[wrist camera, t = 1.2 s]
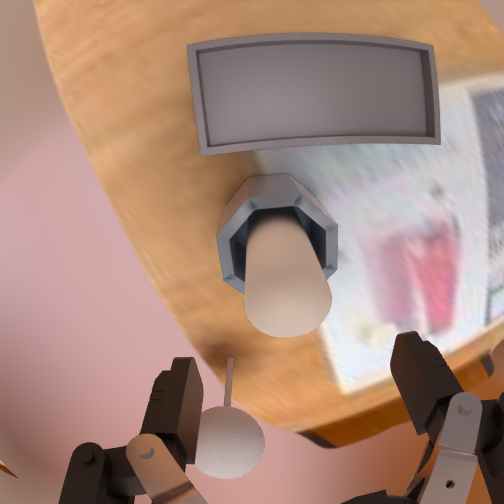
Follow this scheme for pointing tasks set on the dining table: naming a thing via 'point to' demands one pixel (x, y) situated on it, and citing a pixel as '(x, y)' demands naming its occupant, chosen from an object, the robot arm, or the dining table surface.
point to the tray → (312, 91)
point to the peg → (283, 275)
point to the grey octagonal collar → (272, 196)
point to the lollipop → (228, 438)
